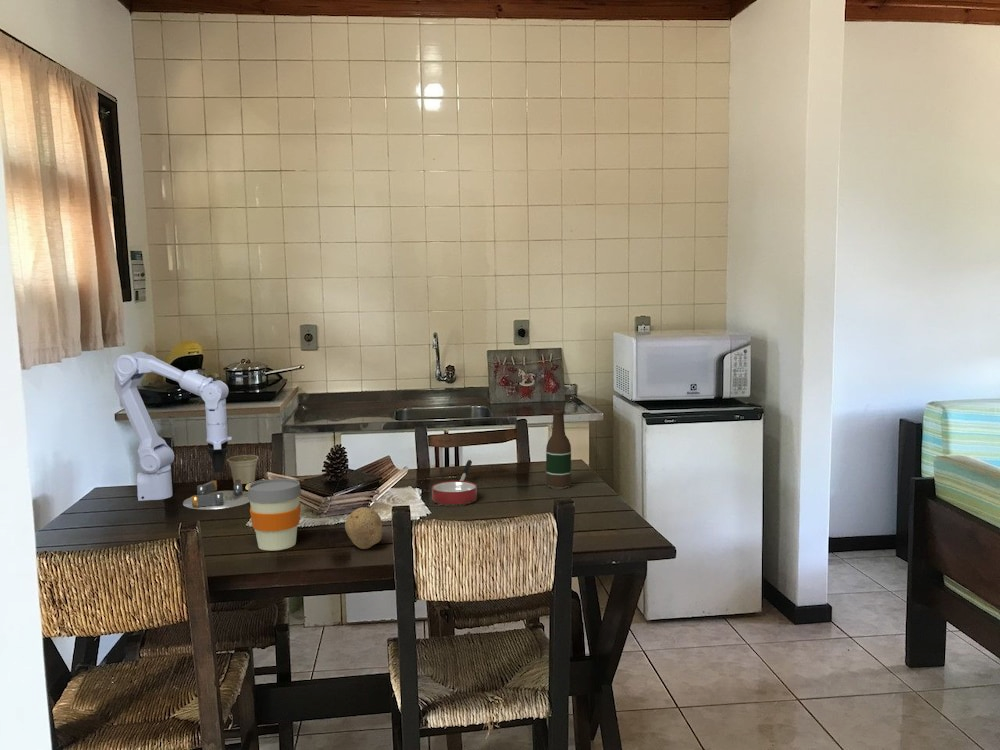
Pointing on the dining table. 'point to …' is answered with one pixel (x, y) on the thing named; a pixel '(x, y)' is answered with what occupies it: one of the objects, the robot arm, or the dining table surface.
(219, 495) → the knob front
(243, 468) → the flower pot
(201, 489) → the knob left
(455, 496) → the frying pan
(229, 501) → the plate
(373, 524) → the potato
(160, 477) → the robot arm
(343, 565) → the dining table surface
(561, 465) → the beer bottle
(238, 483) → the knob right
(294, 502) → the reusable coffee cup
